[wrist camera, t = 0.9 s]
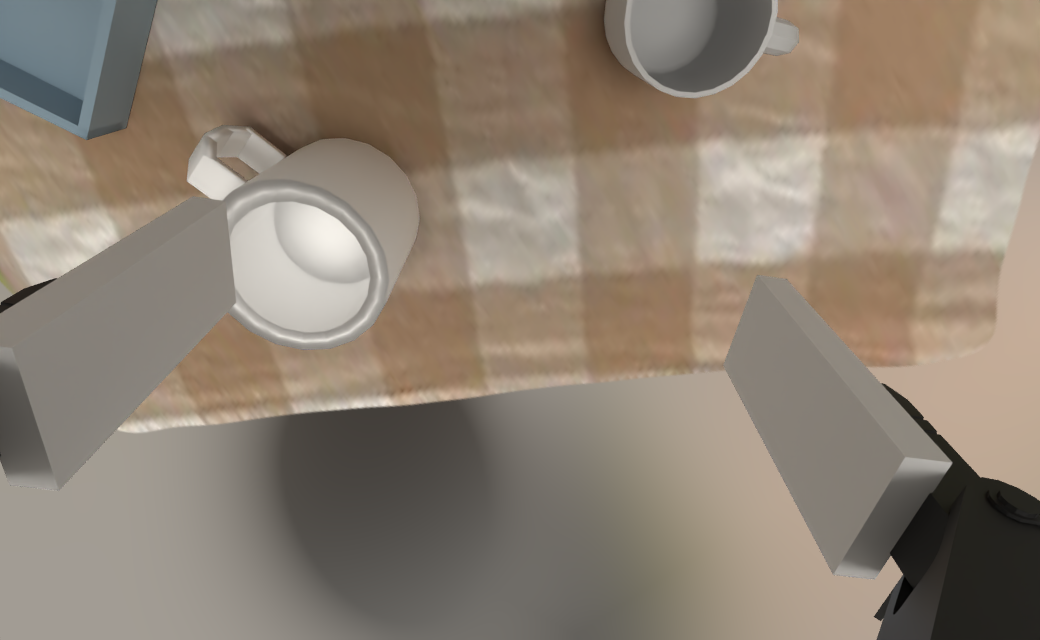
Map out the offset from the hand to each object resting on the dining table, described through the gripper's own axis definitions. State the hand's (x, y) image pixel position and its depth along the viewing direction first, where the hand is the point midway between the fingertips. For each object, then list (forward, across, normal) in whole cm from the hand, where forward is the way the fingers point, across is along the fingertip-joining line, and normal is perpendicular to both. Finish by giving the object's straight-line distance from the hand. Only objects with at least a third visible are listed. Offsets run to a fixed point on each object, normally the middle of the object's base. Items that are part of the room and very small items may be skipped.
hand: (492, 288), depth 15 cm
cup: (+27, +10, +6) cm, 30 cm away
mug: (+27, -12, -8) cm, 30 cm away
